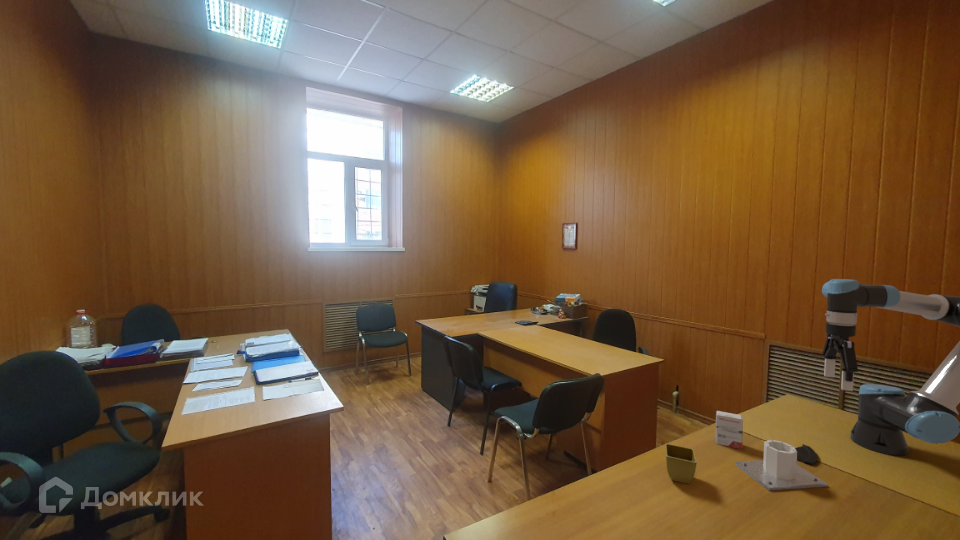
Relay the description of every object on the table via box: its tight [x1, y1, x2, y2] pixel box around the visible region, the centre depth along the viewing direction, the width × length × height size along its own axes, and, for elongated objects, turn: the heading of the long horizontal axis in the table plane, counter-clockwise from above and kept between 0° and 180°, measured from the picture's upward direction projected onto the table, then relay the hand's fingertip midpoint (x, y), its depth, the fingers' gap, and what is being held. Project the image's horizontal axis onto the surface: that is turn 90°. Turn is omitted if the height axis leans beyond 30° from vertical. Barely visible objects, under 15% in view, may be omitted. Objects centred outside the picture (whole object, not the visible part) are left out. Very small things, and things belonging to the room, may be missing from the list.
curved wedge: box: [794, 443, 818, 466], centre depth 136 cm, size 8×14×2 cm, turn 123°
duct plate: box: [734, 459, 828, 492], centre depth 124 cm, size 20×14×7 cm
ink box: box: [715, 410, 744, 450], centre depth 144 cm, size 9×5×12 cm, turn 58°
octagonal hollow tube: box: [762, 439, 798, 480], centre depth 124 cm, size 8×8×9 cm
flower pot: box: [664, 443, 698, 484], centre depth 123 cm, size 9×9×9 cm
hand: (837, 383), depth 130 cm, fingers open, 13 cm apart
